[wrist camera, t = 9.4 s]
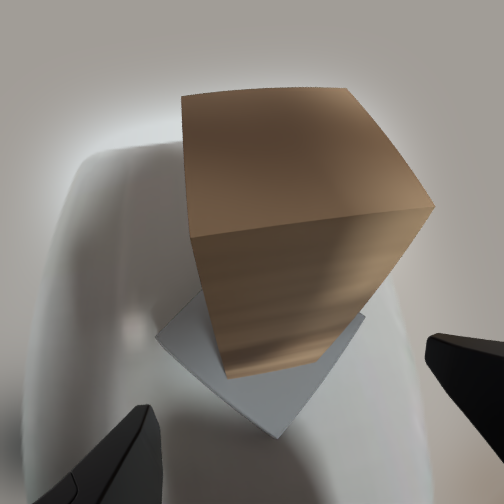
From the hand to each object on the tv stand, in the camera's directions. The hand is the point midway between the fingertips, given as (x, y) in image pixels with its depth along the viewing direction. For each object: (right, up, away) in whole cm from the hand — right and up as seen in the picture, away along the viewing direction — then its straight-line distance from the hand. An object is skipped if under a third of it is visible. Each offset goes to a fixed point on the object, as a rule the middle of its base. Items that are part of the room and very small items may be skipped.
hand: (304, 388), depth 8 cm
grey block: (-1, -2, +11) cm, 12 cm away
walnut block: (-1, -1, +9) cm, 9 cm away
